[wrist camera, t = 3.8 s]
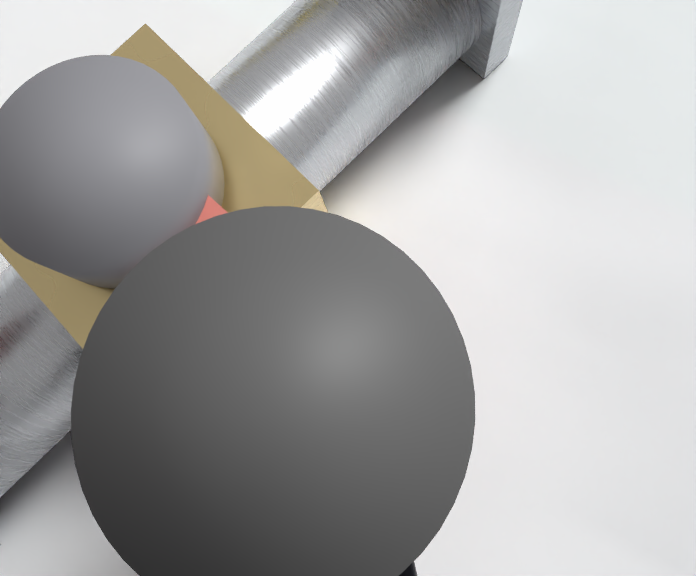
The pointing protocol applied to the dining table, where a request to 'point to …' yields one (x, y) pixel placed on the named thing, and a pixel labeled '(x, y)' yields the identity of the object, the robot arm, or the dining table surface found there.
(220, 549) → the lever
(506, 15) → the valve body
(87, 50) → the dining table surface
